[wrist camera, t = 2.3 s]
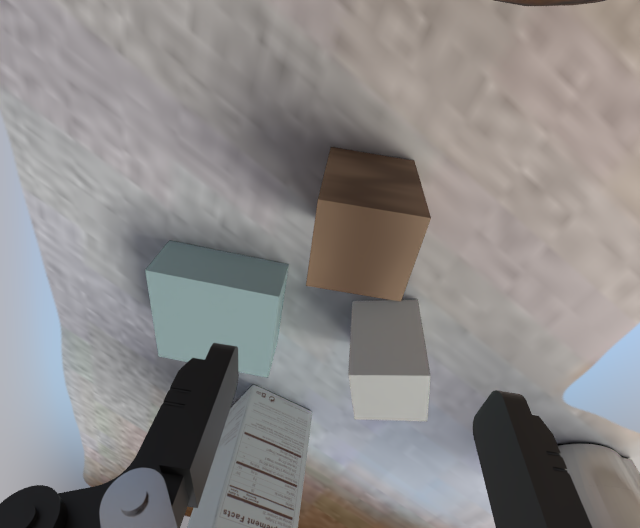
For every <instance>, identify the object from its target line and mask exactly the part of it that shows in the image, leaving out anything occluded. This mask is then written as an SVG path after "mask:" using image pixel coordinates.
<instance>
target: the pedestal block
mask: <svg viewBox="0 0 640 528" xmlns="http://www.w3.org/2000/svg"><path fill="white" fill-rule="evenodd" d="M288 266H289V264H284V263H279V262H274V261H269V260H264V259H260V258H255V257H250V256H245V255H240V254H235V253H230V252H225V251H220V250H215V249H210V248H205V247H200V246H195V245H190V244H185V243H180V242H175V241H170V240H169V242H168V243H167V244H166V245H165V247H164V248H163V249H162V250H161V251H160V253H159V254H158V255H157V256H156V258H155V259H154V260H153V261H152V262H151V264H150V265H149V266H148V267H147V269H146V270H145V272H146V279H147V285H148V292H149V298H150V305H151V311H152V317H153V324H154V330H155V337H156V343H157V350H158V356H159V357H164V358H169V359H174V360H179V361H184V362H188V361H189V360H191V359H192V358H197V359H203V360H205V359H206V356H207V354H208V352H209V350H210V347H211V346H212V344H213V343H219V344H225V345H231V346H237V347H238V372H241V373H246V374H251V375H256V376H261V377H266V378H268V376H269V372H270V368H271V365H272V361H273V357H274V353H275V349H276V345H277V340H278V334H279V327H280V320H281V313H282V307H283V300H284V293H285V287H286V280H287V273H288Z"/></svg>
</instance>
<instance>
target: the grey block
mask: <svg viewBox="0 0 640 528" xmlns="http://www.w3.org/2000/svg"><path fill="white" fill-rule="evenodd" d="M348 376H349V383H350V390H351V397H352V405H353V412H354V419H356V420H395V421H427V418H428V403H429V389H430V370H429V364H428V358H427V352H426V346H425V340H424V334H423V328H422V322H421V316H420V310H419V303H418V299H408V300H401V302H400V301H394V300H372V301H352V316H351V336H350V355H349V374H348Z"/></svg>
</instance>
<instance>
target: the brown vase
mask: <svg viewBox="0 0 640 528" xmlns="http://www.w3.org/2000/svg"><path fill="white" fill-rule="evenodd" d="M495 1H500V2H506V3H512V4H517V5H523V6H556V5H578V4H587V3H595V2H600V1H605V0H495Z"/></svg>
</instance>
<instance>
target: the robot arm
mask: <svg viewBox="0 0 640 528" xmlns="http://www.w3.org/2000/svg"><path fill="white" fill-rule="evenodd" d="M237 383H238V347H237V346H231V345H225V344H219V343H213V344H212V346H211V347H210V350H209V352H208V354H207V356H206V359H205V360H203V359H197V358H192V359H191V360H189V361H188V362H187V363H186V364H185V365H184V366H183V367H182V368H181V369H180V370H179V371H178V373H177V375H176V377H175V379H174V381H173V383H172V385H171V388H170V391H168V393H167V395H166V397H165V399H164V403H163V404H162V405H161V407H160V409H159V411H158V413H157V415H156V417H155V419H154V421H153V423H152V425H151V427H150V429H149V431H148V433H147V435H146V438H145V440H144V442H143V444H142V446H141V448H140V450H139V452H138V454H137V456H136V457H135V459H134V461H133V462H132V463H131V465H130V466H129V467H128V468H127V469H126V470H125V471H124V472H123V473H122V474H120V475H119V476H118V477H116V478H115V479H113V480H111V481H109V482H107V483H105V484H102V485H99V486H95V487H90V488H85V489H79V490H75V491H69V492H64V493H59V494H57V492H56V491H55V490H53V489H52V488H50V487H48V486H43V485H42V486H41V485H40V486H39V485H37V486H31V487H28V488H24V489H22V490H20V491H18V492H16V493H14V494H12V495H11V496H9V497H8V498H7V499H5V500H4V501H3V502H2V503H1V504H0V528H180V526H181V523H182V520H183V517H184V514H185V512H186V509H187V506H188V507H194V508H198V506H199V503H200V499H201V496H202V493H203V490H204V487H205V484H206V481H207V478H208V475H209V472H210V469H211V466H212V463H213V460H214V457H215V454H216V451H217V447H218V444H219V441H220V438H221V435H222V432H223V429H224V426H225V423H226V420H227V417H228V414H229V411H230V408H231V405H232V402H233V399H234V395H235V392H236V388H237ZM473 435H474V440H475V444H476V448H477V452H478V456H479V460H480V464H481V468H482V472H483V477H484V481H485V485H486V489H487V493H488V497H489V501H490V505H491V509H492V513H493V517H494V522H495V526H496V528H640V473H639V472H638V470H637V468H636V466H635V465H634V463H633V461H632V460H631V459H626V458H623V457H621V456H620V455H619V454H618V453H617V452H616V451H614V450H612V449H610V448H607V447H604V446H600V445H594V444H568V445H560V446H558V445H557V443H556V441H555V438H554V436H553V434H552V433H551V431H550V430H549V429H548V427H547V426H546V425H545V424H544V422H543V421H542V420H541V418H540V417H539V416H535V415H532V414H531V411H530V409H529V406H528V404H527V402H526V400H525V398H524V397H523V396H522V395H520V394H515V393H508V392H502V391H493V392H492V393H491V394H490V396H489V397H488V399H487V400H486V401H485V403H484V404H483V406H482V407H481V408H480V410H479V411H478V412H477V414H476V415H475V417H474V421H473Z"/></svg>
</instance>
